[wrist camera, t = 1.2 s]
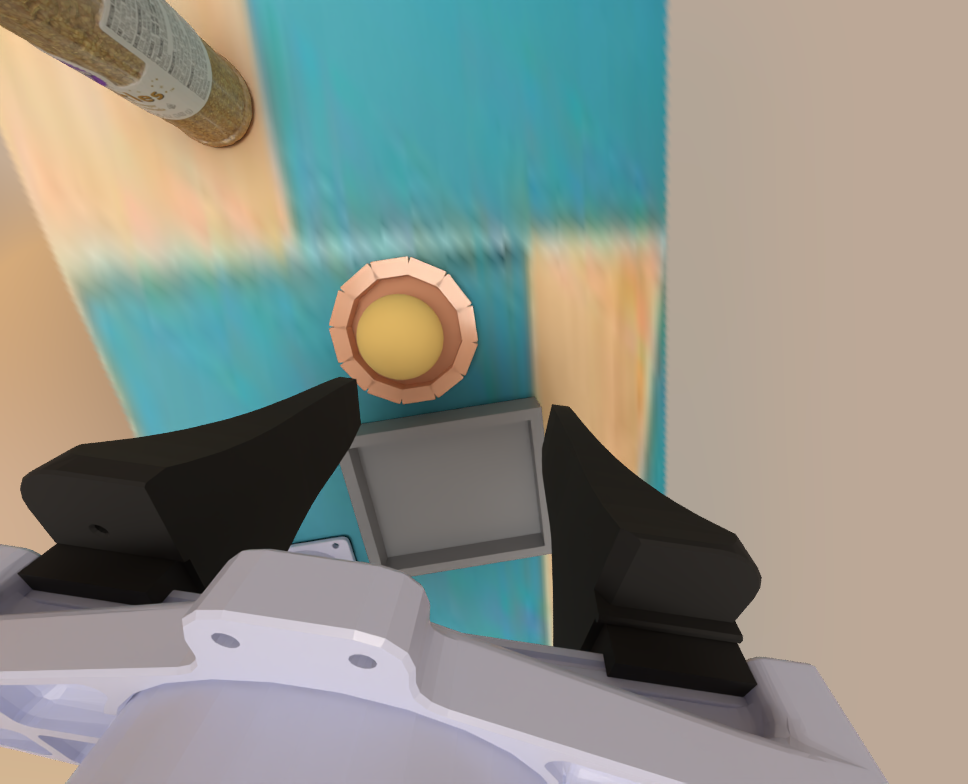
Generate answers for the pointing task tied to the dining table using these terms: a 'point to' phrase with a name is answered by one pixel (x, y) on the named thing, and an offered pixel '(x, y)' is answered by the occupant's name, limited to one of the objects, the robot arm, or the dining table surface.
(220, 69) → the sprinkles bottle
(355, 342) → the copper shallow bowl
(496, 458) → the tray
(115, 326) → the dining table surface
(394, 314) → the ball
